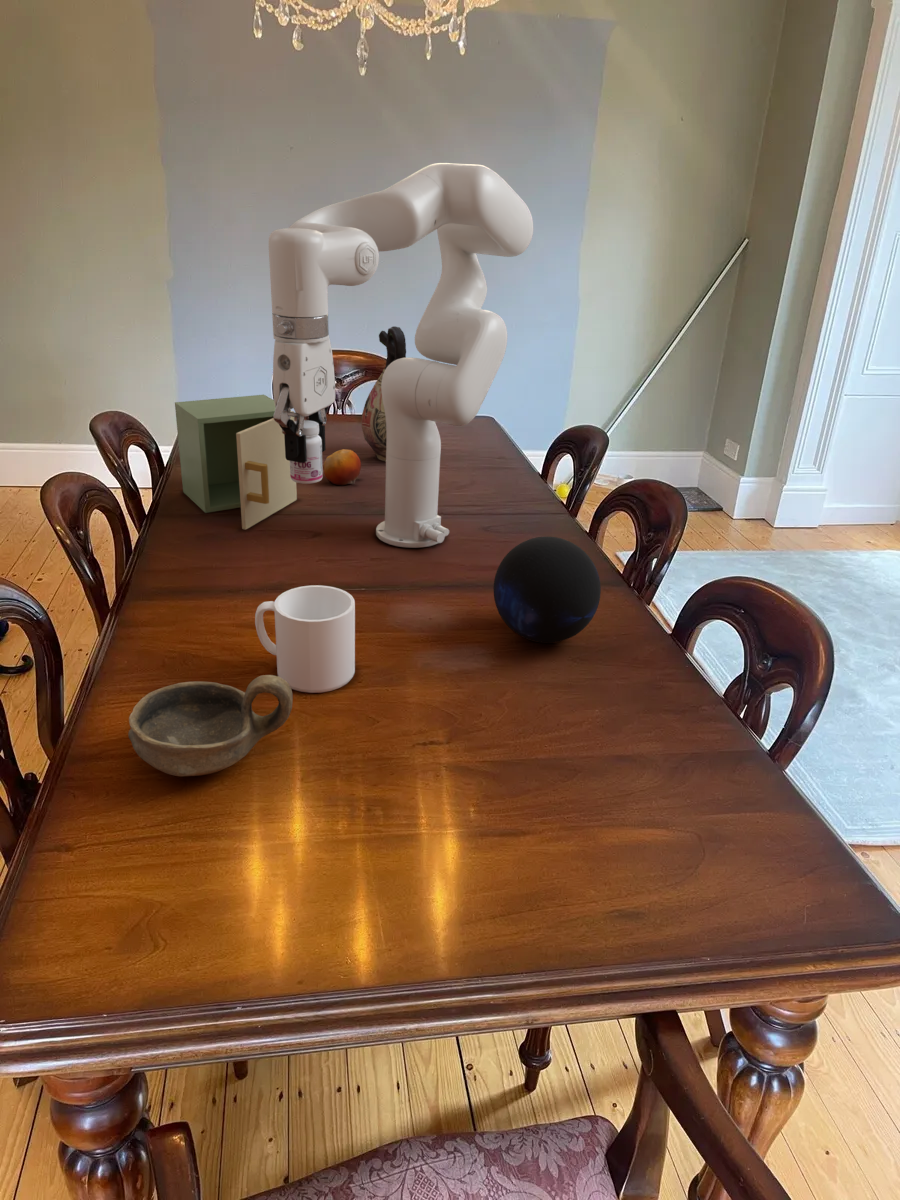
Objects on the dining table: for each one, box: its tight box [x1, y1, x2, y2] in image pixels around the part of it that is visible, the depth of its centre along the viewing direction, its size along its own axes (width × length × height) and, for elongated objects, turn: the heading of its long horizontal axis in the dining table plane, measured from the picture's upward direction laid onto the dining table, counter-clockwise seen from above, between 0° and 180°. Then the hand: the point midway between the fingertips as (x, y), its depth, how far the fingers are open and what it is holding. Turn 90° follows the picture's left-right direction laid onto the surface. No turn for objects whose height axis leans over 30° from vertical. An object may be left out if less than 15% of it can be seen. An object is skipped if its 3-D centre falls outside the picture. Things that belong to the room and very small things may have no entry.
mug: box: [254, 584, 356, 694], centre depth 107 cm, size 13×10×10 cm
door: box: [236, 410, 298, 531], centre depth 153 cm, size 5×18×18 cm, turn 159°
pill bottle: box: [290, 419, 324, 485], centre depth 122 cm, size 5×5×8 cm
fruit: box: [322, 448, 362, 486], centre depth 176 cm, size 8×8×8 cm
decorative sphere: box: [493, 536, 602, 644], centre depth 118 cm, size 15×15×15 cm
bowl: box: [127, 674, 294, 777], centre depth 90 cm, size 14×18×10 cm
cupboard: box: [174, 394, 292, 514], centre depth 162 cm, size 13×18×18 cm
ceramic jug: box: [361, 326, 407, 462], centre depth 187 cm, size 17×15×30 cm
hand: (305, 454), depth 122 cm, fingers closed on pill bottle, 4 cm apart
